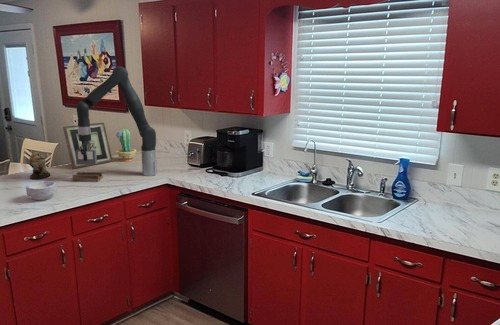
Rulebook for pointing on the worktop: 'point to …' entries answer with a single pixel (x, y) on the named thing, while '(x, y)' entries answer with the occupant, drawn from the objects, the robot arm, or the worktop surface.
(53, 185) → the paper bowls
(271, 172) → the worktop surface
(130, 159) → the potted cactus
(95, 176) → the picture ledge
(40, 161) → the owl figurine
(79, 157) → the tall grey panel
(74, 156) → the picture frame
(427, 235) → the worktop surface
